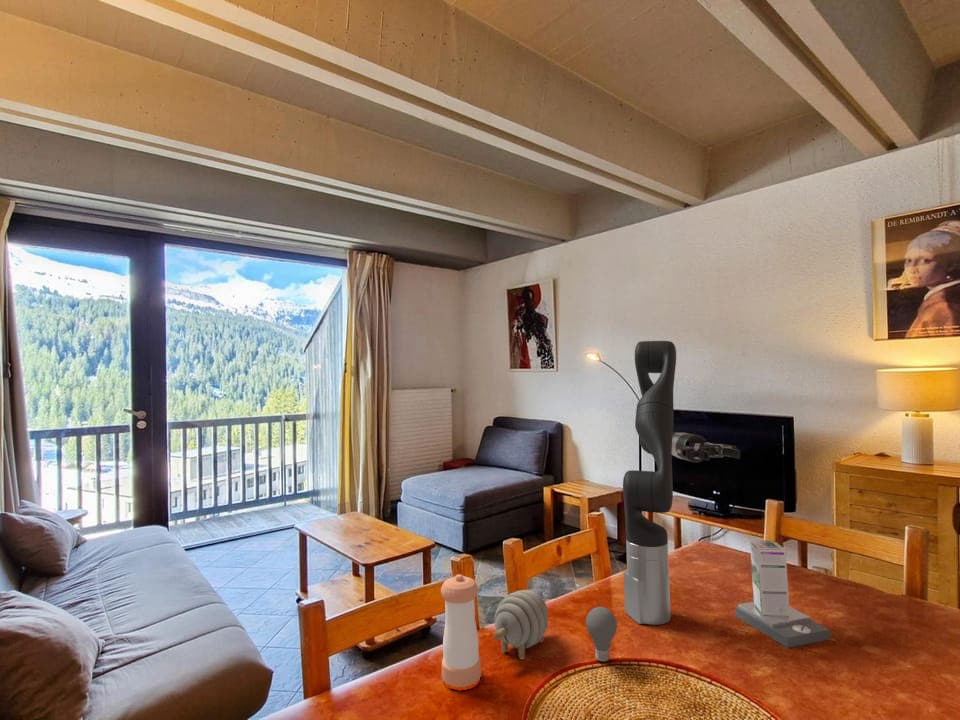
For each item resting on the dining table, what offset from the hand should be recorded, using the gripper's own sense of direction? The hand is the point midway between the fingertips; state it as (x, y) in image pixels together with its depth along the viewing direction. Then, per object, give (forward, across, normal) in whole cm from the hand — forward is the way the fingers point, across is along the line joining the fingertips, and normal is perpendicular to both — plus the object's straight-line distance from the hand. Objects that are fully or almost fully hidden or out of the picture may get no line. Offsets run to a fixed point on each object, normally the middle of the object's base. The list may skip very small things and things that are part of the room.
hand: (723, 455), depth 126 cm
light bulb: (+20, -42, +35) cm, 59 cm away
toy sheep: (+12, -57, +35) cm, 68 cm away
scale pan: (+14, 0, +33) cm, 36 cm away
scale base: (+16, +1, +35) cm, 39 cm away
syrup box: (+14, 0, +32) cm, 35 cm away
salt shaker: (+20, -70, +35) cm, 81 cm away
